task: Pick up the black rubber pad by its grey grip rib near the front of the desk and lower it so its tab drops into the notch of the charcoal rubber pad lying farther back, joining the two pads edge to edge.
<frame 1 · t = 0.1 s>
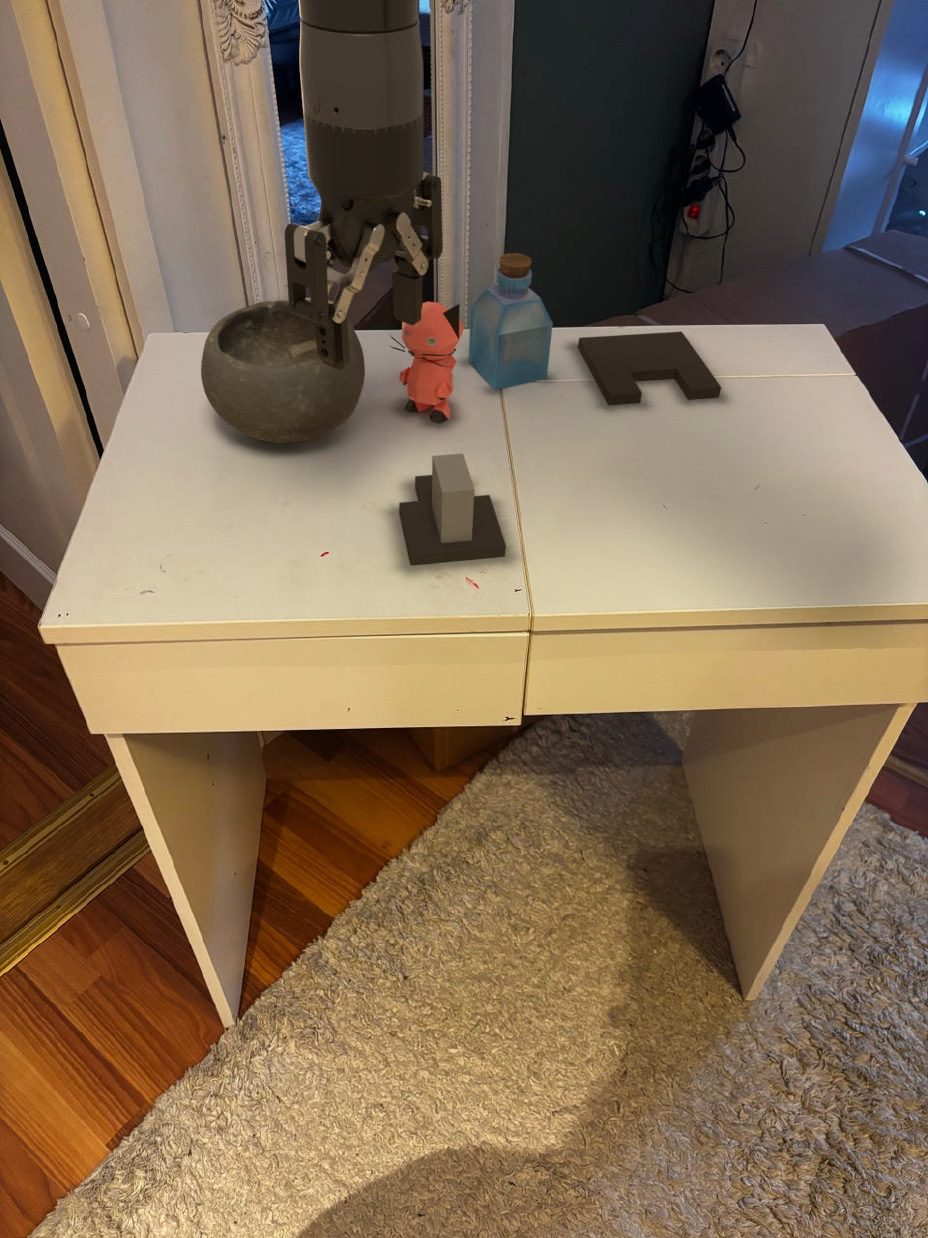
hand: (372, 341, 69), 17 cm above the table, tool pointing down, fingers open, 8 cm apart
perfume bottle: (507, 371, 100), on the table
bowl: (290, 427, 91), on the table
cat figurine: (431, 409, 94), on the table
notch pad: (646, 371, 100), on the table
tab pad: (451, 534, 80), on the table
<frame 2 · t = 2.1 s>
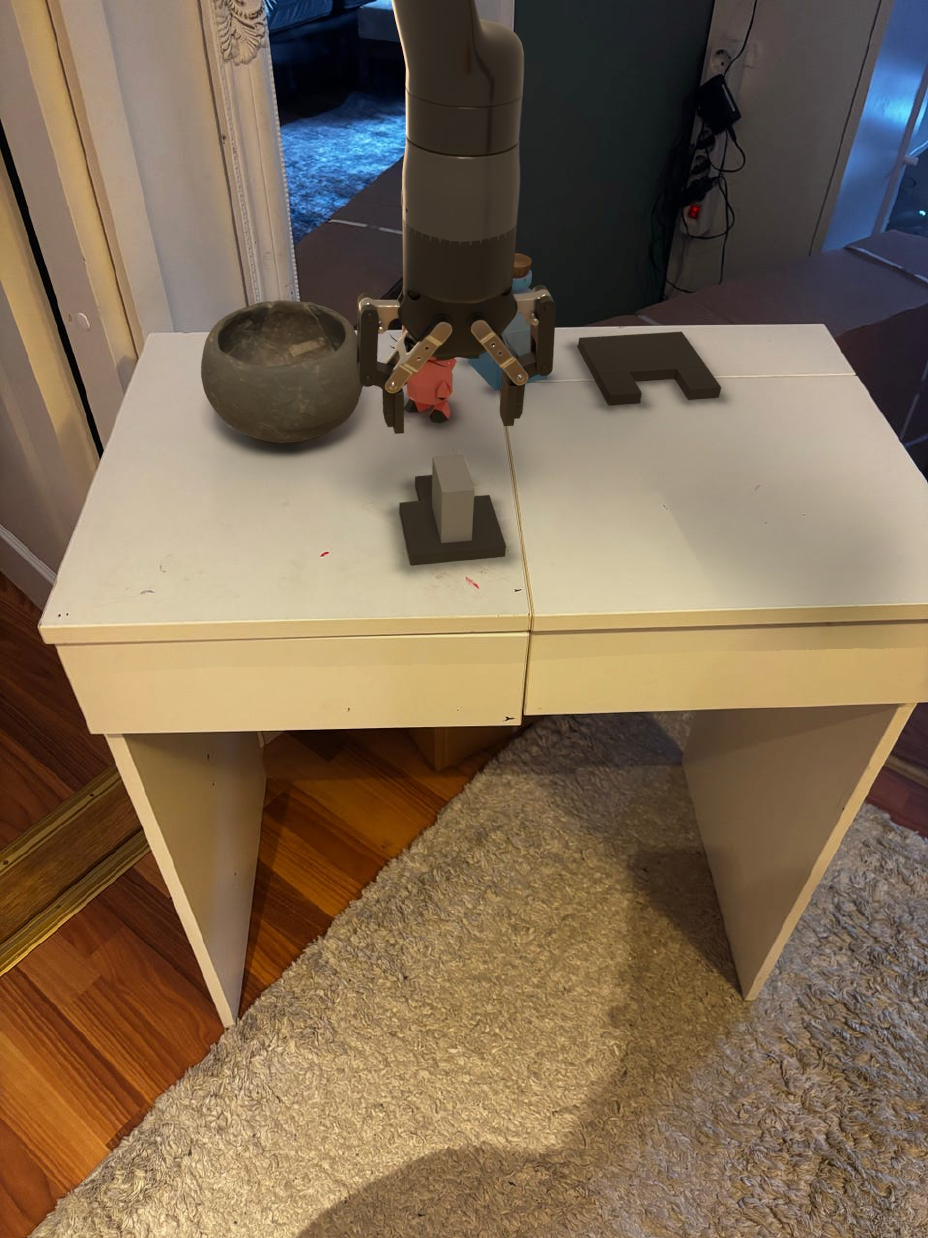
hand: (452, 424, 72), 11 cm above the table, tool pointing down, fingers open, 8 cm apart
nothing on the table moved.
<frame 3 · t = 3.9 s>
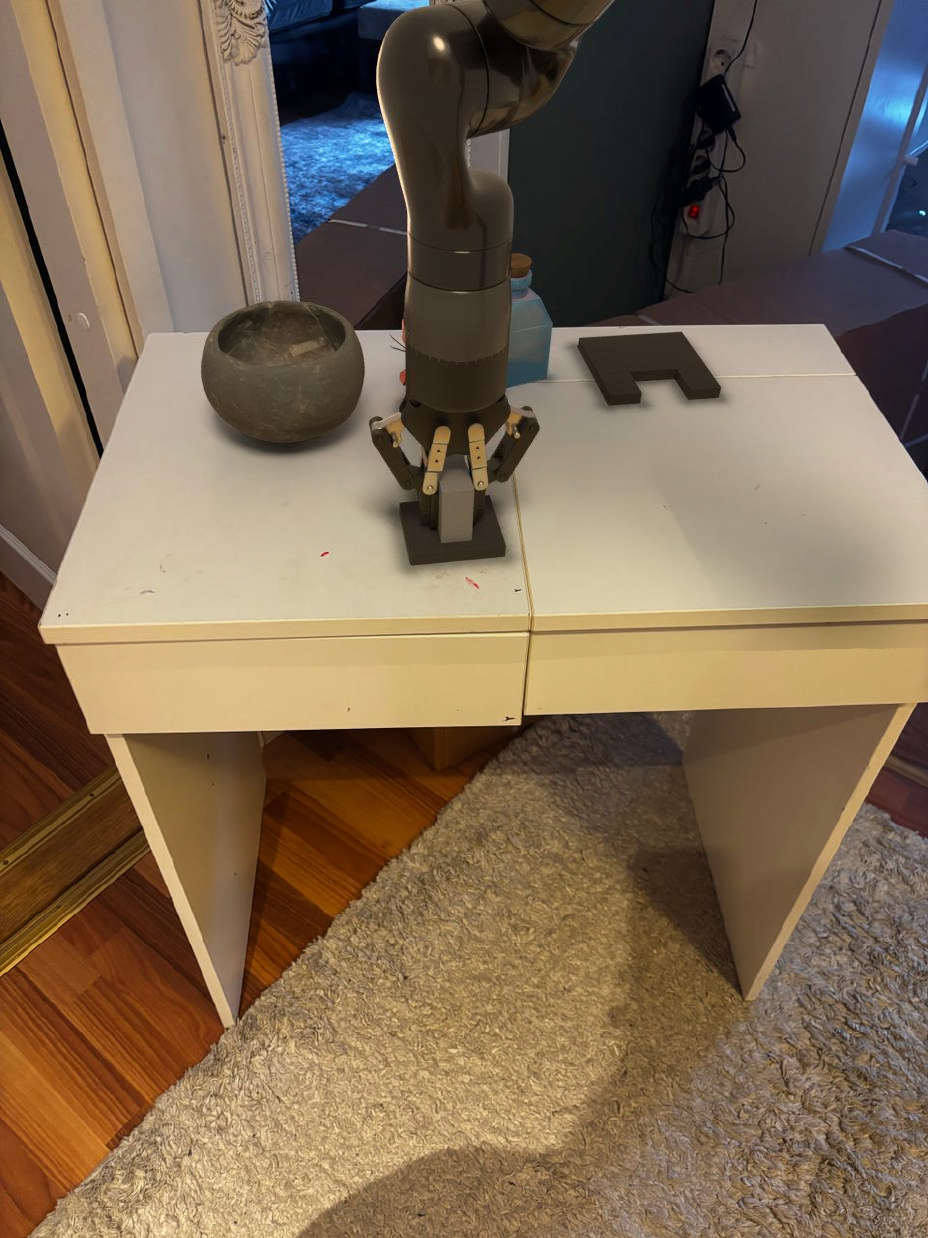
hand: (451, 519, 79), 2 cm above the table, tool pointing down, fingers closed on tab pad, 2 cm apart
tab pad: (451, 534, 80), on the table, touching gripper
everything else where it was.
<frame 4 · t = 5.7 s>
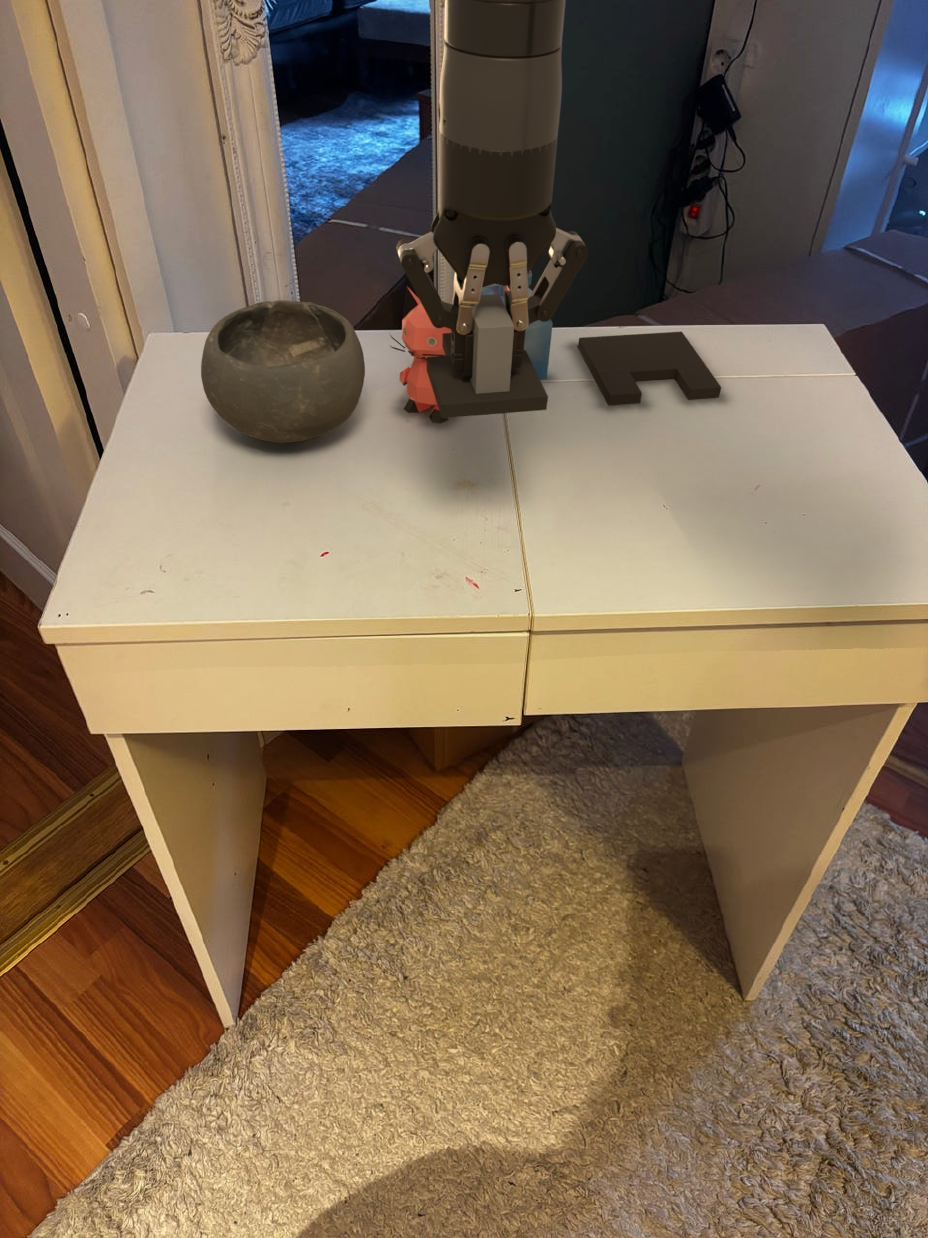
hand: (486, 370, 71), 15 cm above the table, tool pointing down, fingers closed on tab pad, 2 cm apart
tab pad: (485, 389, 72), point 13 cm above the table, touching gripper
everything else where it was.
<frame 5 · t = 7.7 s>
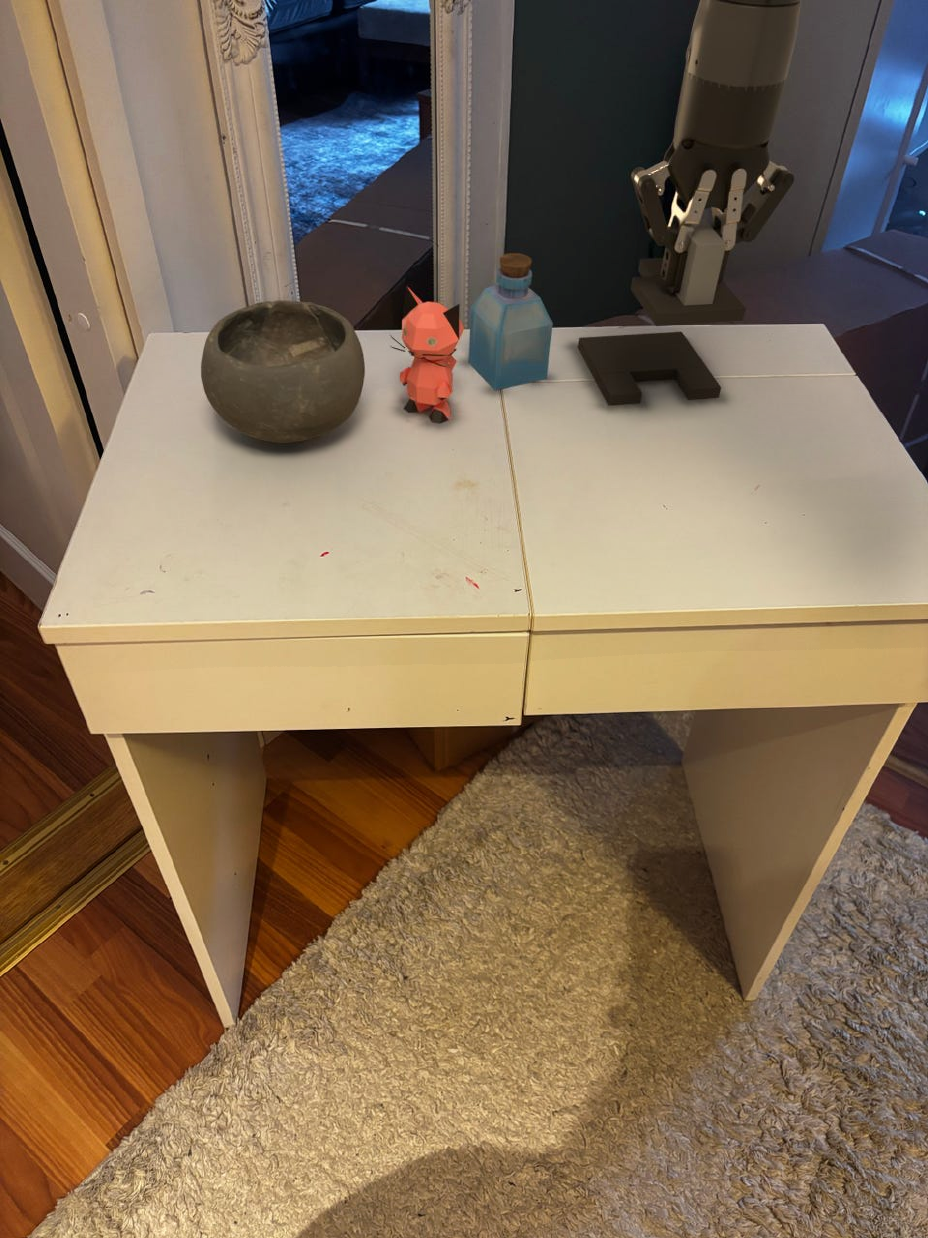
hand: (689, 287, 82), 15 cm above the table, tool pointing down, fingers closed on tab pad, 2 cm apart
tab pad: (685, 304, 83), point 13 cm above the table, touching gripper
everything else where it was.
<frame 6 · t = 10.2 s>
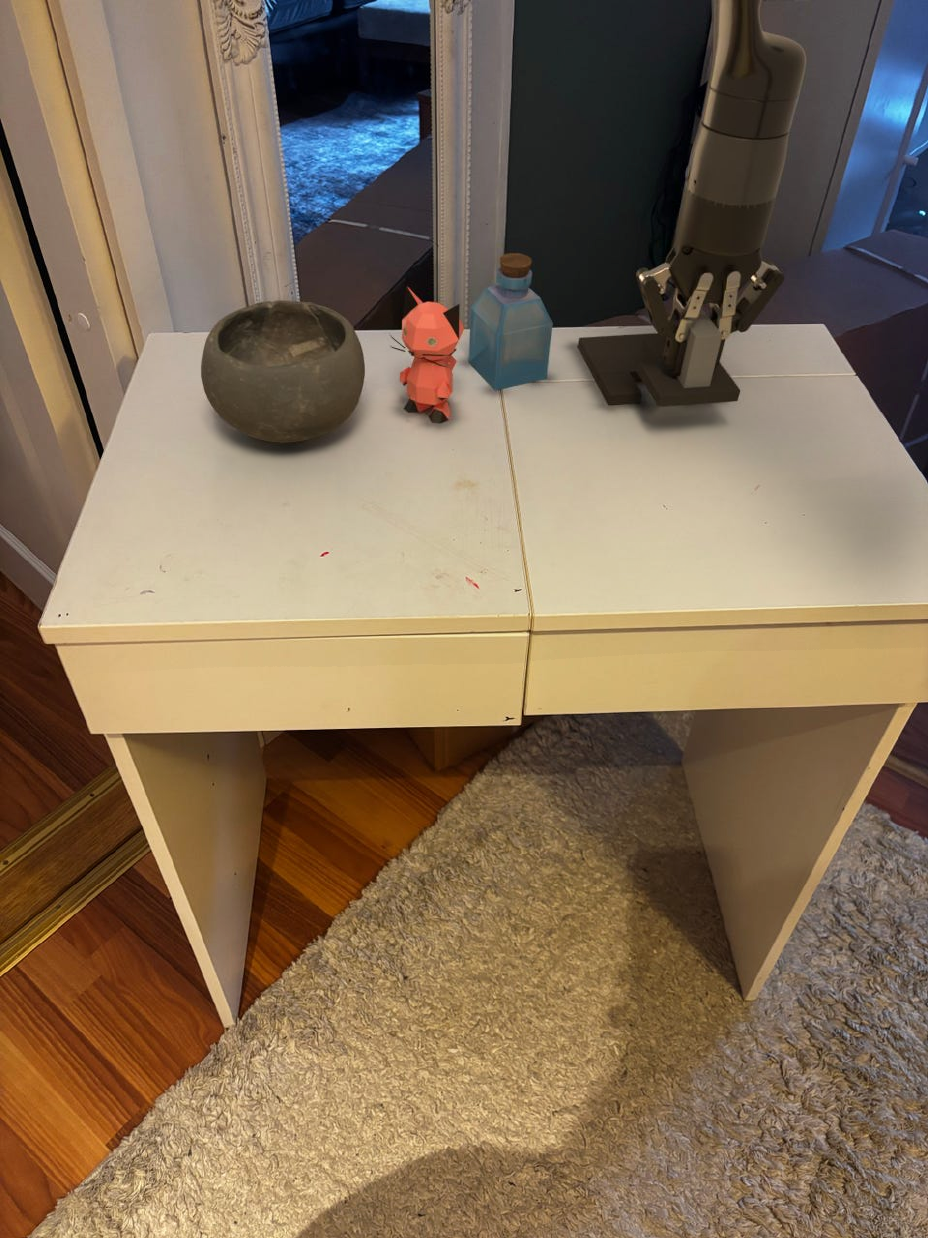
hand: (688, 370, 89), 6 cm above the table, tool pointing down, fingers closed on tab pad, 2 cm apart
tab pad: (685, 384, 90), point 4 cm above the table, touching gripper
everything else where it was.
when the fingers open (2 cm above the table, at t = 11.7 s): tab pad stays where it is, on the table.
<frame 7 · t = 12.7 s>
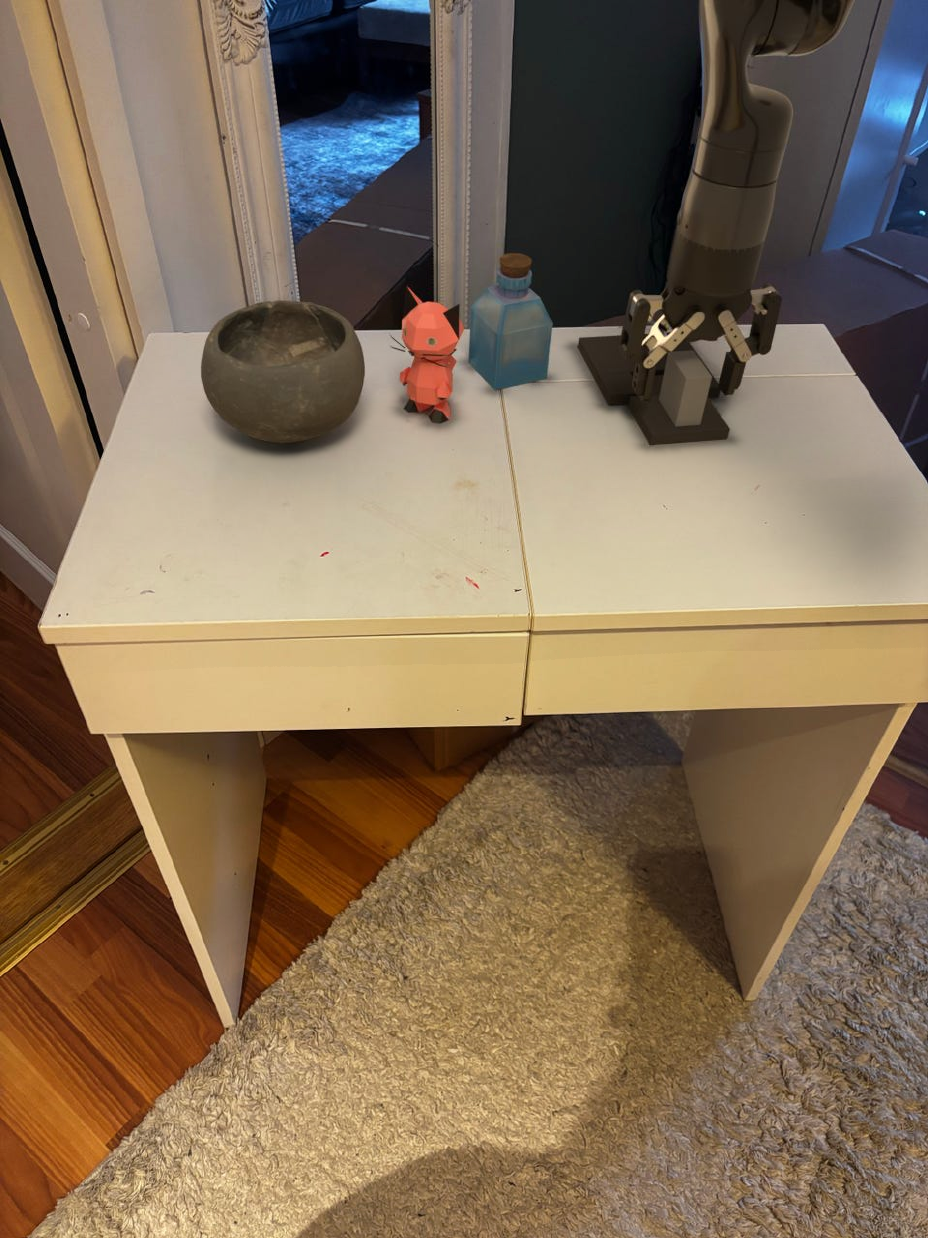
hand: (684, 394, 91), 3 cm above the table, tool pointing down, fingers open, 8 cm apart
tab pad: (676, 422, 93), on the table
everything else where it was.
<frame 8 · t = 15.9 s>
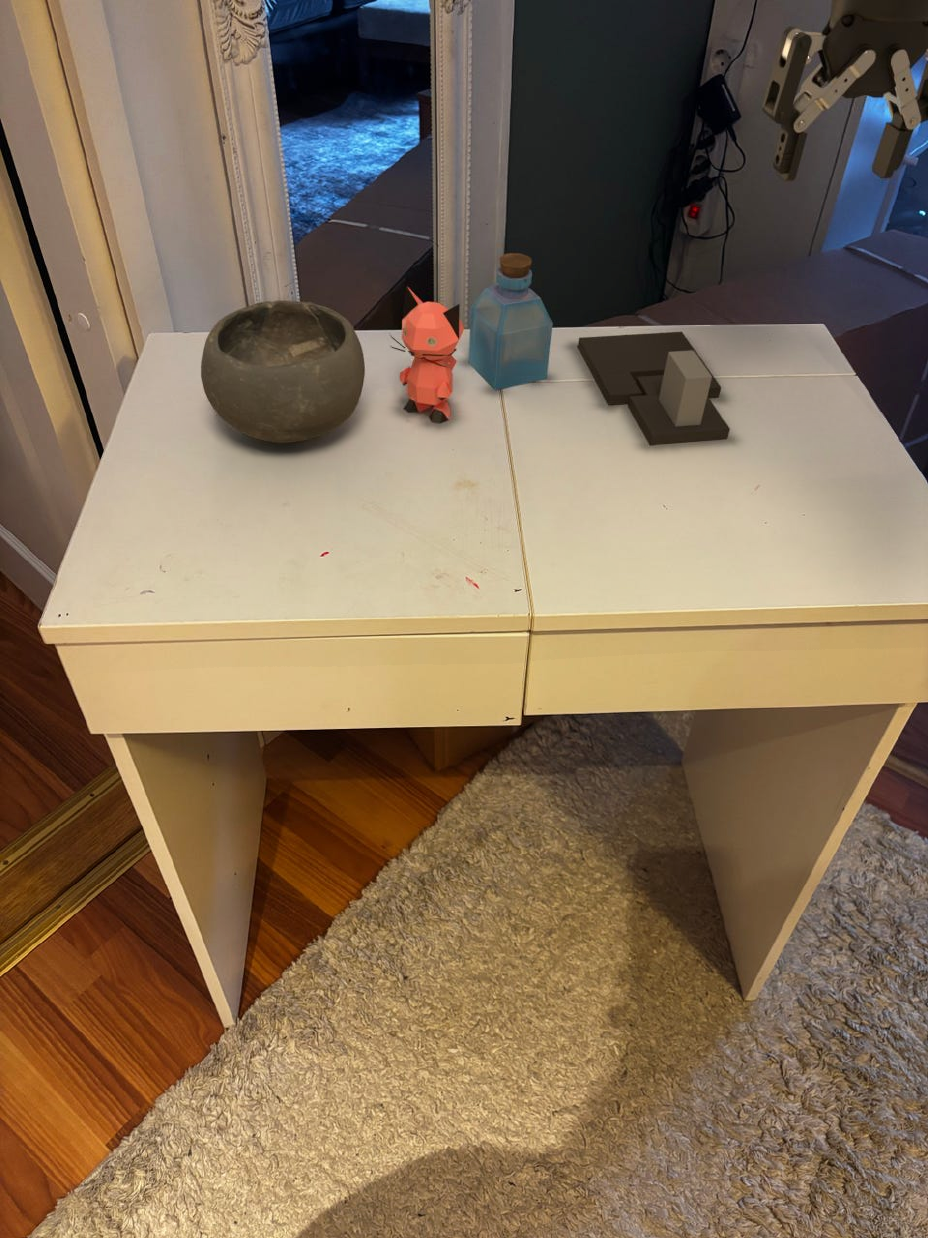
hand: (833, 176, 76), 24 cm above the table, tool pointing down, fingers open, 8 cm apart
nothing on the table moved.
at the end: tab pad 0.1 cm from the target spot on the table beside the notch pad, on the table; tab pad tilted 0°; the gripper is holding nothing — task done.
